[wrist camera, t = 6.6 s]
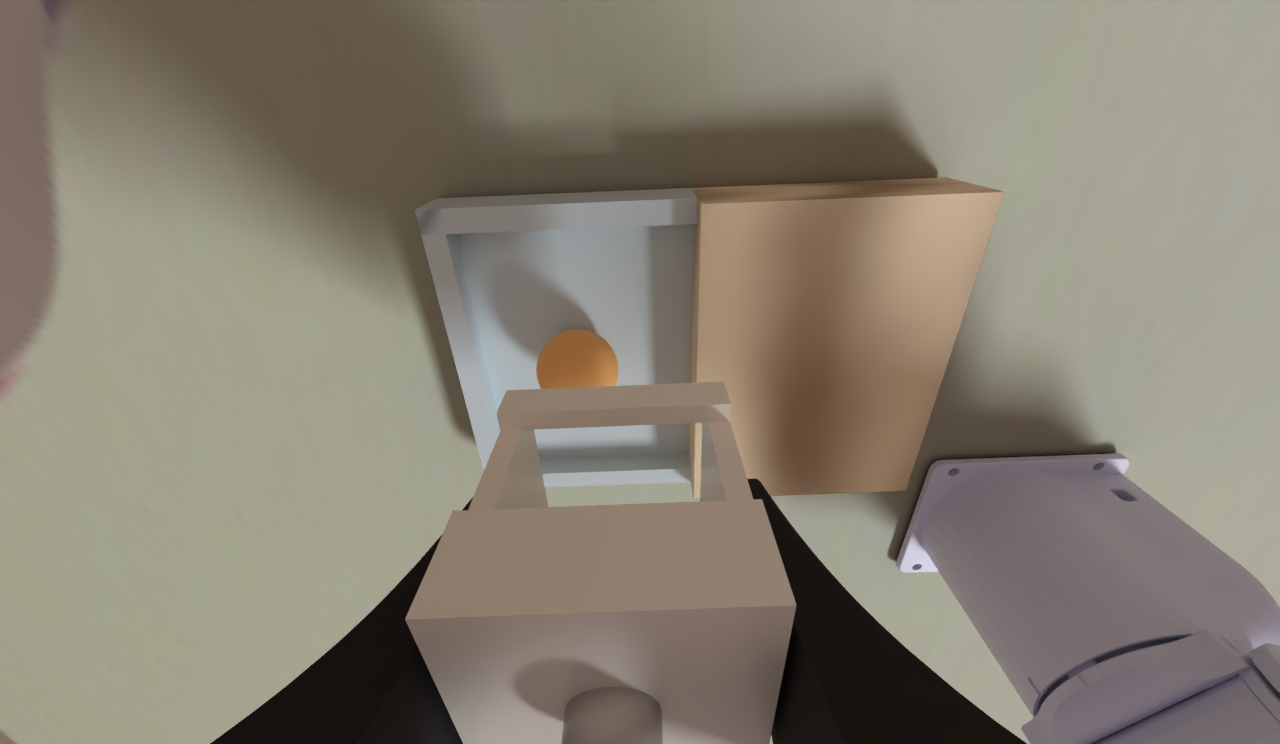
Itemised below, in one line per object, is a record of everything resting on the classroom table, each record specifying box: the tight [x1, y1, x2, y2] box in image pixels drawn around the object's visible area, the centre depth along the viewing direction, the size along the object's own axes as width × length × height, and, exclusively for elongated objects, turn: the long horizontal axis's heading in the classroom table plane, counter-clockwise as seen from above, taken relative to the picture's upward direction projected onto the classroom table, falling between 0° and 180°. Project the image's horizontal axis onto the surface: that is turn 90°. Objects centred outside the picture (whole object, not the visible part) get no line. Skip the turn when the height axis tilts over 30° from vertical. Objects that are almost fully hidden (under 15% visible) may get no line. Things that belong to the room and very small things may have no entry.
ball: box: [536, 329, 618, 389], centre depth 17 cm, size 3×3×3 cm
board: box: [689, 177, 1004, 499], centre depth 18 cm, size 9×12×3 cm
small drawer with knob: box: [405, 382, 796, 744], centre depth 10 cm, size 5×5×7 cm
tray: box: [415, 188, 698, 488], centre depth 19 cm, size 9×12×2 cm
